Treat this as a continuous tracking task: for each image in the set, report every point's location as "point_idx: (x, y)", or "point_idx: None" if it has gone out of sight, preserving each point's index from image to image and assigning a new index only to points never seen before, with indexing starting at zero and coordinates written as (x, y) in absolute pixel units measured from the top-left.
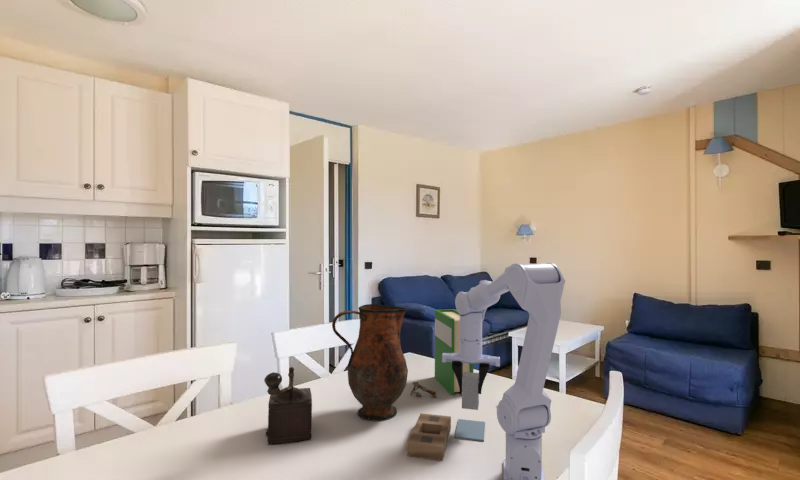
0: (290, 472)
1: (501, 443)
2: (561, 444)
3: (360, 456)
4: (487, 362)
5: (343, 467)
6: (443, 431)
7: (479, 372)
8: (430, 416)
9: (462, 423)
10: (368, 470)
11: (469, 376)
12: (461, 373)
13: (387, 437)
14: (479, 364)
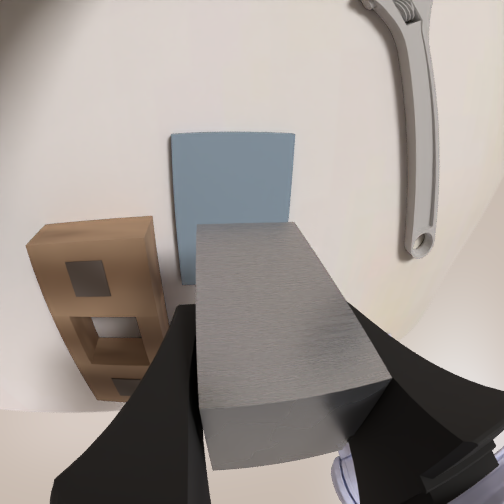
0: (7, 408)
1: (333, 270)
2: (464, 232)
3: (35, 381)
4: (468, 493)
5: (41, 403)
6: (154, 349)
7: (362, 487)
8: (67, 265)
9: (194, 176)
10: (75, 407)
11: (276, 458)
12: (208, 488)
13: (20, 319)
14: (413, 495)
